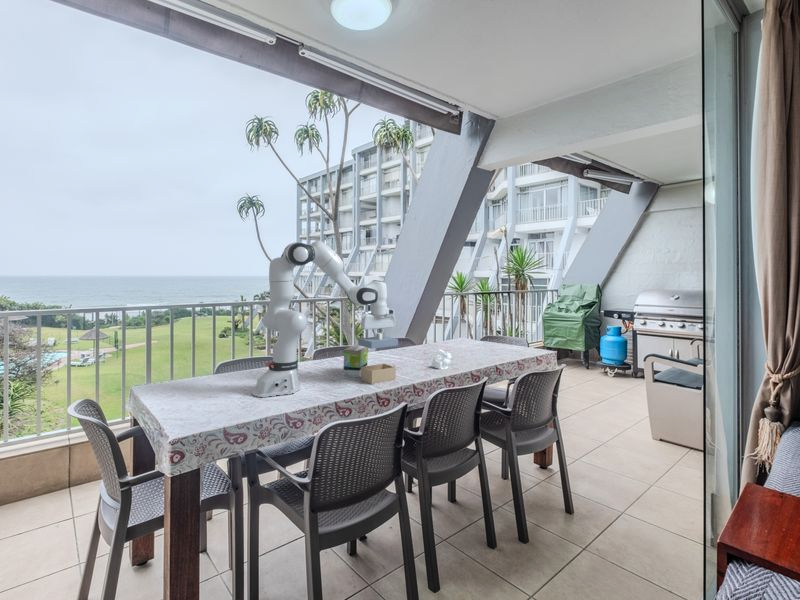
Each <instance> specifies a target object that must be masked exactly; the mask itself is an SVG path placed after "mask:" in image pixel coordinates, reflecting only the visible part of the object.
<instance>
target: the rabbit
mask: <svg viewBox="0 0 800 600" xmlns="http://www.w3.org/2000/svg"><path fill="white" fill-rule="evenodd" d="M438 353H441V354H443V355H444V356H442V355H435V356H434V358H433V359H432V362H431V366H432V367H433V368H435V369H436V368H439V369H438V370H441V369H443V370H448V369H447V368H449V367H448V366H449V364H451V360H452V354H451V353H449V352H447V351H444V350H442V349H439V350H438Z"/></svg>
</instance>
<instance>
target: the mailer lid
mask: <svg viewBox="0 0 800 600" xmlns="http://www.w3.org/2000/svg"><path fill="white" fill-rule="evenodd" d="M376 333H377V334H378V337H374V336H372V337H359V338H358V342H357V343H358V345H357V346H364V347H367V348H368V349H371V350H373V349H380V348H388V347H389V348H391V347H398V346H399V339H398V338H394V337H390V336H385V335H383V337H382V334H381V333H380V332H376Z"/></svg>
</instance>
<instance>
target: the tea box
mask: <svg viewBox="0 0 800 600" xmlns="http://www.w3.org/2000/svg"><path fill="white" fill-rule="evenodd" d="M368 349H369V348H367V347H364V346H360V345H351V346H349V347H346V348H345V349H343V373H342V374H343V376H347V377H361V367H364V366H368V354H369V350H368Z"/></svg>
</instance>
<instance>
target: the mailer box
mask: <svg viewBox="0 0 800 600" xmlns="http://www.w3.org/2000/svg"><path fill="white" fill-rule="evenodd" d="M396 369H397V368H396V366H393V365H390V364H386V363H378V364H372V365H367V366H364V367H361V375H360V381H362V380H363V381H362V382H366V383H367V382H368V383H367V384H369V383H371V384H370V385H376V384H375V383H377V384H381V383H380V382H383V383H386V382H385V381H388V382H391V381H390V380H394V381H396V380H395V379H396V371H397V370H396Z"/></svg>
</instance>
